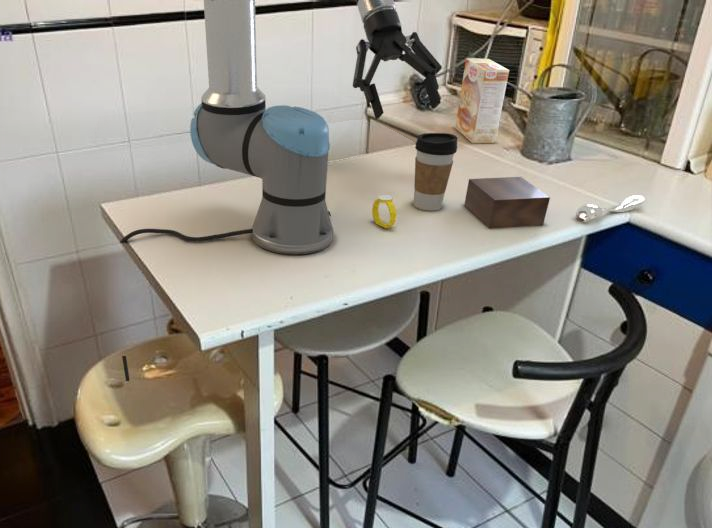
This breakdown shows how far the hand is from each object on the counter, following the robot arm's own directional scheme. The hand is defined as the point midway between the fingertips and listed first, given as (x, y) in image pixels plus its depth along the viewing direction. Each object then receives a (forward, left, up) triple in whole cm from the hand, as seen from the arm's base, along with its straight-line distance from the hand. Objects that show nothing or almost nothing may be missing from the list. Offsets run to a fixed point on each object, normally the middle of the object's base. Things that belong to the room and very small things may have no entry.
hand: (408, 110), depth 138 cm
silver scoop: (+41, -18, -18) cm, 48 cm away
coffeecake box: (+36, +39, -18) cm, 56 cm away
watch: (-10, -18, -18) cm, 27 cm away
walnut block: (+17, -16, -18) cm, 30 cm away
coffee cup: (+3, -9, -18) cm, 20 cm away
